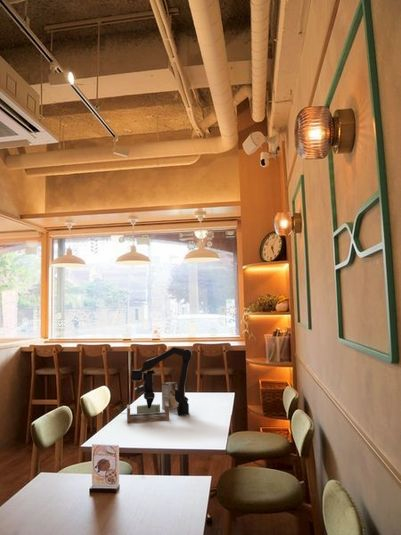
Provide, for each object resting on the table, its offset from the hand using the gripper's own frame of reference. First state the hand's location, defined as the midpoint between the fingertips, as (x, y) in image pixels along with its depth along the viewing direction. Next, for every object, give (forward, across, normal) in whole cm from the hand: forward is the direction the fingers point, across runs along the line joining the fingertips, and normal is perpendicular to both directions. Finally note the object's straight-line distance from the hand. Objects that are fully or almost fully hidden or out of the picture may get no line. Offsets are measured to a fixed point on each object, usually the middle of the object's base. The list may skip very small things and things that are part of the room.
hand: (148, 406), depth 259 cm
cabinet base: (+5, +12, -1) cm, 12 cm away
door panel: (+5, 0, 0) cm, 5 cm away
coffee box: (+5, -16, +15) cm, 22 cm away
